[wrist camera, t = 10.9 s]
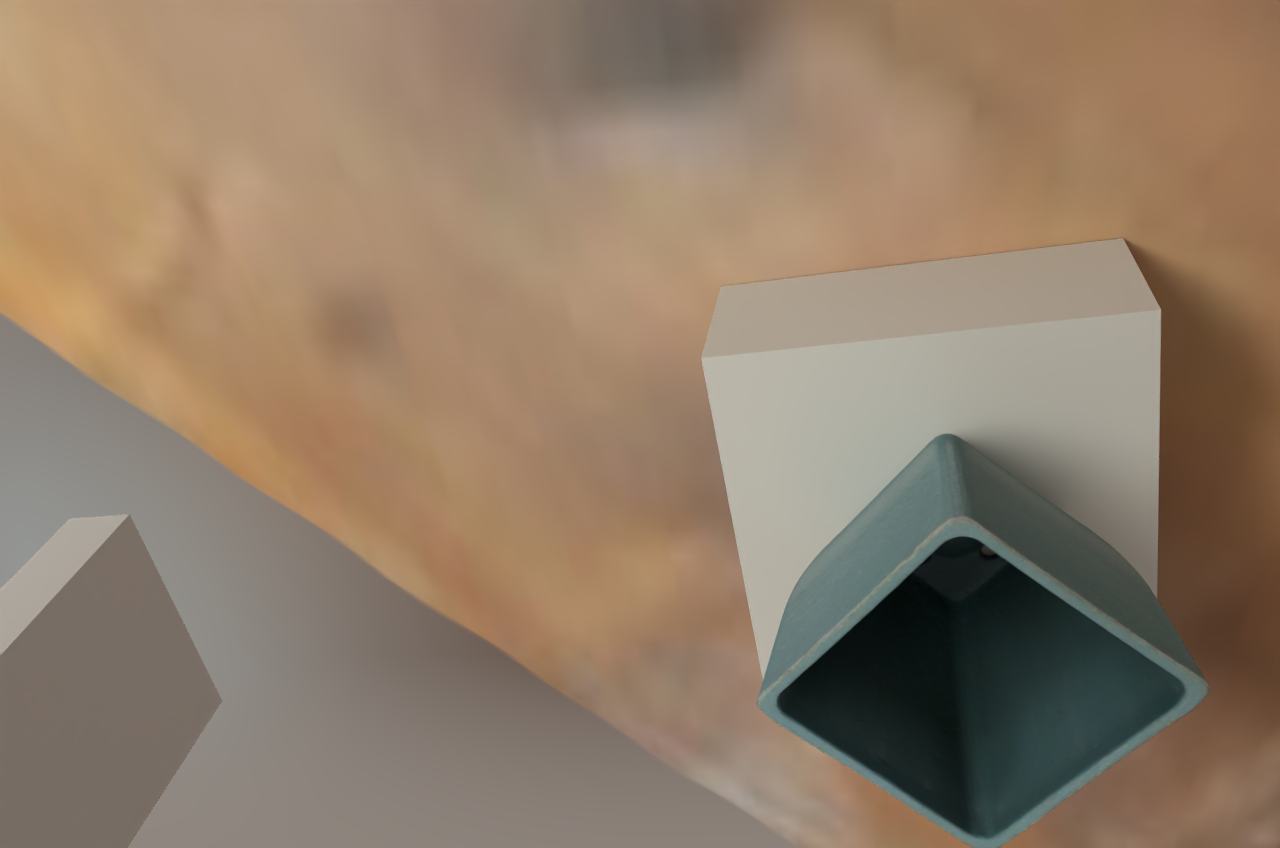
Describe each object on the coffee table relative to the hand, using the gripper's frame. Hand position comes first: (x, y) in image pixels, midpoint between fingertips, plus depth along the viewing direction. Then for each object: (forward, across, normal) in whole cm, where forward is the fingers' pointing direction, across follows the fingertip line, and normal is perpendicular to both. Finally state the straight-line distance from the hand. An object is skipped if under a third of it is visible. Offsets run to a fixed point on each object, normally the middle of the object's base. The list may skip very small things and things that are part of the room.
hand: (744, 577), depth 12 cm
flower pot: (+24, +3, -17) cm, 29 cm away
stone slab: (+30, +2, -17) cm, 34 cm away
